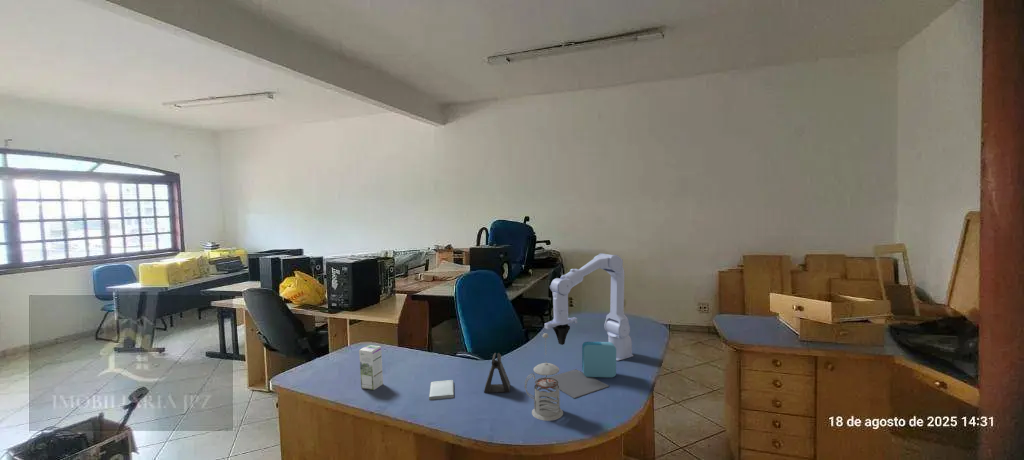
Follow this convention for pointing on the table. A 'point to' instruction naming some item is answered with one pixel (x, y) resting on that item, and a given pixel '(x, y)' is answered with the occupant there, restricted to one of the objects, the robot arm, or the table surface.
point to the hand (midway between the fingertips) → (561, 343)
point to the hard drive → (441, 390)
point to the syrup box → (371, 367)
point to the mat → (578, 383)
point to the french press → (544, 405)
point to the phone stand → (505, 381)
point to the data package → (599, 359)
